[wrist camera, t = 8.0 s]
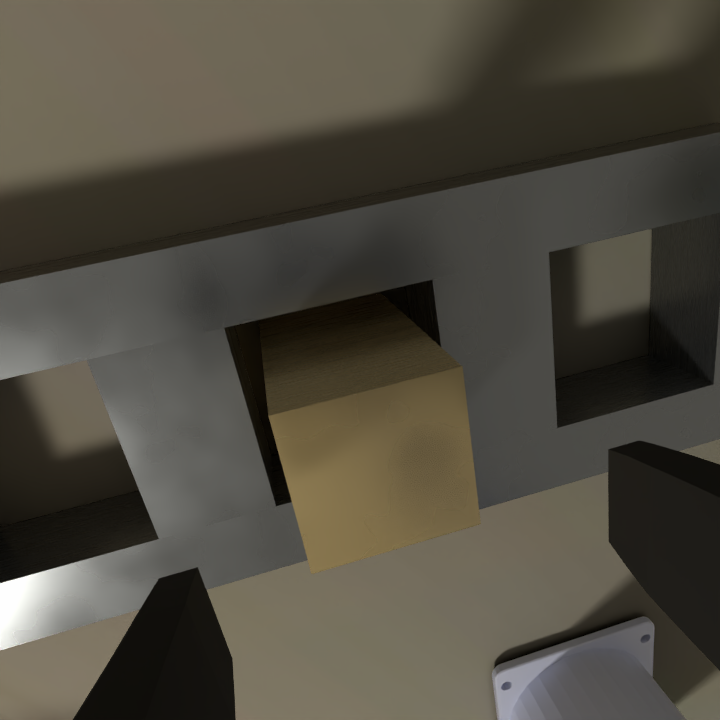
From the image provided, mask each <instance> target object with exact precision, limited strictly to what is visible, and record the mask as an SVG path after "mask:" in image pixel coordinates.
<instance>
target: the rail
mask: <svg viewBox="0 0 720 720" xmlns="http://www.w3.org/2000/svg"><path fill="white" fill-rule="evenodd" d="M647 229H652V257H651V297H650V338H649V355H647V356H643V357H639V358H636V359H632V360H628V361H624V362H621V363H617V364H613V365H609V366H606V367H602V368H598V369H594V370H591V371H587V372H583V373H579V374H576V375H572V376H568V377H564V378H560V379H557V380H555V370H554V349H553V328H552V307H551V286H550V264H549V252H553V251H557V250H561V249H566V248H570V247H574V246H578V245H583V244H587V243H591V242H596V241H600V240H604V239H609V238H613V237H617V236H621V235H626V234H630V233H634V232H639V231H643V230H647ZM402 286H405V288H406V295H407V301H408V308H409V314H410V320H411V321H412V322H414V323H415V324H416V325H417V326H418V327H419V328H420V329H421V330H422V331H424V332H425V333H426V334H427V335H428V336H429V337H430V338H431V339H432V340H434V341H435V342H436V343H437V344H438V345H439V346H440V347H441V348H442V349H444V350H445V351H446V352H447V353H448V354H449V355H450V356H451V357H452V358H454V359H455V360H456V361H457V362H458V363H459V364H460V365H461V366H463V374H464V383H465V392H466V400H467V409H468V418H469V427H470V435H471V444H472V453H473V462H474V470H475V479H476V488H477V496H478V505H479V509H483V508H486V507H489V506H493V505H496V504H500V503H503V502H506V501H510V500H513V499H517V498H520V497H523V496H527V495H530V494H534V493H537V492H540V491H544V490H547V489H551V488H554V487H558V486H561V485H564V484H568V483H571V482H575V481H578V480H581V479H585V478H588V477H592V476H595V475H598V474H602V473H605V472H608V449H611V448H614V447H618V446H621V445H625V444H628V443H632V442H635V441H639V440H640V441H644V442H648V443H652V444H656V445H659V446H663V447H666V448H669V449H673V450H676V451H680V450H683V449H687V448H690V447H694V446H697V445H700V444H704V443H707V442H711V441H714V440H717V439H720V123H713V124H709V125H704V126H699V127H694V128H689V129H684V130H680V131H675V132H670V133H665V134H660V135H656V136H651V137H646V138H641V139H636V140H632V141H627V142H622V143H617V144H612V145H607V146H603V147H598V148H593V149H588V150H583V151H579V152H574V153H569V154H564V155H559V156H555V157H550V158H545V159H540V160H535V161H531V162H526V163H521V164H516V165H511V166H506V167H502V168H497V169H492V170H487V171H482V172H478V173H473V174H468V175H463V176H458V177H454V178H449V179H444V180H439V181H434V182H429V183H425V184H420V185H415V186H410V187H405V188H401V189H396V190H391V191H386V192H381V193H377V194H372V195H367V196H362V197H357V198H353V199H348V200H343V201H338V202H333V203H328V204H324V205H319V206H314V207H309V208H304V209H300V210H295V211H290V212H285V213H280V214H276V215H271V216H266V217H261V218H256V219H252V220H247V221H242V222H237V223H232V224H227V225H223V226H218V227H213V228H208V229H203V230H199V231H194V232H189V233H184V234H179V235H175V236H170V237H165V238H160V239H155V240H150V241H146V242H141V243H136V244H131V245H126V246H122V247H117V248H112V249H107V250H102V251H98V252H93V253H88V254H83V255H78V256H74V257H69V258H64V259H59V260H54V261H49V262H45V263H40V264H35V265H30V266H25V267H21V268H16V269H11V270H6V271H1V272H0V380H2V379H6V378H11V377H15V376H19V375H24V374H28V373H32V372H36V371H41V370H45V369H49V368H54V367H58V366H62V365H67V364H71V363H75V362H79V361H84V360H87V362H88V365H89V367H90V369H91V372H92V374H93V377H94V379H95V382H96V384H97V387H98V389H99V392H100V394H101V397H102V399H103V402H104V404H105V407H106V409H107V412H108V414H109V417H110V419H111V421H112V424H113V426H114V429H115V431H116V434H117V436H118V439H119V441H120V444H121V446H122V449H123V451H124V454H125V456H126V459H127V461H128V464H129V466H130V469H131V471H132V474H133V476H134V478H135V481H136V483H137V486H138V488H139V491H136V492H132V493H128V494H124V495H121V496H117V497H113V498H109V499H106V500H102V501H98V502H94V503H91V504H87V505H83V506H79V507H75V508H72V509H68V510H64V511H60V512H57V513H53V514H49V515H45V516H42V517H38V518H34V519H30V520H27V521H23V522H19V523H15V524H12V525H8V526H4V527H0V650H3V649H6V648H10V647H13V646H16V645H20V644H23V643H27V642H30V641H33V640H37V639H40V638H44V637H47V636H50V635H54V634H57V633H61V632H64V631H67V630H71V629H74V628H78V627H81V626H84V625H88V624H91V623H95V622H98V621H102V620H105V619H108V618H112V617H115V616H119V615H122V614H125V613H129V612H132V611H136V610H139V609H141V607H142V605H143V603H144V602H145V600H146V598H147V597H148V595H149V593H150V592H151V590H152V589H153V587H154V585H155V584H156V582H157V581H158V579H159V578H162V577H165V576H169V575H172V574H176V573H179V572H183V571H186V570H190V569H193V568H196V567H198V569H199V572H200V575H201V577H202V580H203V582H204V585H205V588H206V590H207V589H210V588H214V587H217V586H221V585H224V584H227V583H231V582H234V581H238V580H241V579H244V578H248V577H251V576H255V575H258V574H261V573H265V572H268V571H272V570H275V569H278V568H282V567H285V566H289V565H292V564H295V563H299V562H302V561H306V560H308V559H307V555H306V551H305V548H304V544H303V540H302V537H301V533H300V530H299V526H298V522H297V519H296V515H295V511H294V508H293V504H292V500H291V497H290V493H289V489H288V486H287V482H286V478H285V475H284V471H283V467H282V464H281V460H280V456H279V454H275V455H271V453H270V450H269V446H268V442H267V439H266V435H265V432H264V428H263V425H262V421H261V418H260V414H259V411H258V407H257V404H256V400H255V397H254V393H253V390H252V386H251V383H250V379H249V375H248V372H247V368H246V365H245V361H244V358H243V354H242V351H241V347H240V344H239V340H238V337H237V333H236V330H235V326H234V325H239V324H243V323H247V322H252V321H256V320H260V319H264V318H269V317H273V316H277V315H282V314H286V313H290V312H295V311H299V310H303V309H307V308H312V307H316V306H320V305H325V304H329V303H333V302H338V301H342V300H346V299H350V298H355V297H359V296H363V295H368V294H372V293H376V292H381V291H385V290H389V289H393V288H398V287H402Z"/></svg>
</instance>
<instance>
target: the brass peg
mask: <svg viewBox="0 0 720 720" xmlns="http://www.w3.org/2000/svg"><path fill="white" fill-rule="evenodd" d="M258 321H259V331H260V340H261V350H262V359H263V369H264V378H265V388H266V397H267V407H268V416H269V420H270V423H271V427H272V431H273V434H274V438H275V442H276V445H277V449H278V453H279V456H280V460H281V464H282V467H283V471H284V475H285V478H286V482H287V486H288V489H289V493H290V497H291V500H292V504H293V508H294V511H295V515H296V519H297V522H298V526H299V530H300V533H301V537H302V540H303V544H304V548H305V551H306V555H307V559H308V562H309V566H310V570H311V573H312V574H314V573H317V572H320V571H324V570H327V569H331V568H334V567H337V566H341V565H344V564H348V563H351V562H354V561H358V560H361V559H364V558H368V557H371V556H375V555H378V554H381V553H385V552H388V551H391V550H395V549H398V548H402V547H405V546H408V545H412V544H415V543H418V542H422V541H425V540H429V539H432V538H435V537H439V536H442V535H445V534H449V533H452V532H456V531H459V530H462V529H466V528H469V527H473V526H476V525H479V524H481V523H480V514H479V505H478V496H477V488H476V479H475V470H474V462H473V453H472V444H471V435H470V427H469V418H468V409H467V400H466V392H465V383H464V374H463V366H461V365H460V364H459V363H458V362H457V361H456V360H455V359H454V358H452V357H451V356H450V355H449V354H448V353H447V352H446V351H445V350H444V349H442V348H441V347H440V346H439V345H438V344H437V343H436V342H435V341H434V340H432V339H431V338H430V337H429V336H428V335H427V334H426V333H425V332H424V331H422V330H421V329H420V328H419V327H418V326H417V325H416V324H415V323H414V322H412V321H411V320H410V319H409V318H408V317H407V316H406V315H405V314H403V313H402V312H401V311H400V310H399V309H398V308H397V307H396V306H395V305H393V304H392V303H391V302H390V301H389V300H388V299H387V298H386V297H385V296H383V295H382V294H381V293H376V294H372V295H367V296H363V297H359V298H354V299H350V300H346V301H341V302H337V303H333V304H328V305H324V306H319V307H315V308H311V309H306V310H302V311H298V312H293V313H289V314H285V315H280V316H276V317H272V318H267V319H263V320H258Z"/></svg>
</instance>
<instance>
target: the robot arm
mask: <svg viewBox="0 0 720 720" xmlns="http://www.w3.org/2000/svg"><path fill="white" fill-rule="evenodd" d="M608 492H609V542H610V544H611V545H612V547H613V548H614V549H615V551H616V552H617V554H618V555H619V556H620V558H621V559H622V560H623V562H624V563H625V565H626V566H627V567H628V569H629V570H630V571H631V573H632V574H633V575H634V577H635V578H636V579H637V581H638V582H639V583H640V584H641V586H642V587H643V588H644V590H645V591H646V592H647V593H648V595H649V596H650V597H651V598H652V599H653V600H654V601H655V602H656V603H657V604H658V605H659V607H660V608H661V609H662V610H663V611H664V612H665V613H666V614H667V615H668V616H669V617H670V618H671V619H672V620H673V622H674V623H675V624H676V625H677V626H678V627H679V628H680V629H681V630H682V631H683V632H684V633H685V634H686V635H687V636H688V638H689V639H690V640H691V641H692V642H693V643H694V644H695V645H696V646H697V647H698V648H699V649H700V650H701V651H702V652H703V653H704V654H705V655H706V656H707V657H708V659H709V660H710V661H711V662H712V663H713V664H714V665H715V666H716V667H717V668H718V669H719V670H720V465H719V464H716V463H713V462H710V461H707V460H704V459H701V458H698V457H695V456H692V455H689V454H685V453H682V452H679V451H676V450H673V449H669V448H666V447H663V446H659V445H656V444H652V443H648V442H644V441H640V440H639V441H635V442H632V443H628V444H625V445H621V446H618V447H614V448H611V449H608ZM653 655H654V624H653V623H652V621H651V620H650V619H649V618H648V617H639V618H636V619H633V620H630V621H627V622H624V623H621V624H618V625H615V626H612V627H609V628H606V629H603V630H600V631H597V632H594V633H591V634H588V635H585V636H582V637H579V638H576V639H573V640H570V641H567V642H564V643H561V644H558V645H555V646H552V647H549V648H546V649H543V650H540V651H537V652H534V653H531V654H528V655H525V656H522V657H519V658H516V659H513V660H510V661H507V662H504V663H501V664H499V665H497V666H496V667H495V668H494V670H493V672H492V679H493V687H494V695H495V703H496V711H497V719H498V720H686V719H685V717H684V716H683V715H682V714H681V712H680V711H679V710H678V709H677V707H676V706H675V705H674V704H673V702H672V701H671V700H670V699H669V698H668V696H667V695H666V694H665V693H664V691H663V690H662V689H661V688H660V686H659V685H658V684H657V683H656V681H655V680H654V679H653ZM73 720H235V697H234V680H233V662H232V657H231V654H230V651H229V649H228V646H227V643H226V641H225V638H224V635H223V633H222V630H221V627H220V625H219V622H218V620H217V617H216V614H215V612H214V609H213V606H212V604H211V601H210V598H209V596H208V593H207V590H206V588H205V585H204V582H203V580H202V577H201V575H200V572H199V569H198V567H196V568H193V569H190V570H186V571H183V572H179V573H176V574H172V575H169V576H165V577H162V578H159V579H158V581H157V582H156V584H155V585H154V587H153V589H152V590H151V592H150V593H149V595H148V597H147V598H146V600H145V602H144V603H143V605H142V607H141V609H140V610H139V612H138V614H137V615H136V617H135V619H134V620H133V622H132V624H131V626H130V627H129V629H128V631H127V632H126V634H125V636H124V637H123V639H122V641H121V642H120V644H119V646H118V647H117V649H116V651H115V652H114V654H113V656H112V657H111V659H110V661H109V662H108V664H107V666H106V667H105V669H104V671H103V672H102V674H101V675H100V677H99V679H98V680H97V682H96V683H95V685H94V687H93V688H92V690H91V691H90V693H89V695H88V696H87V698H86V699H85V701H84V703H83V704H82V706H81V708H80V709H79V711H78V712H77V714H76V715H75V717H74V719H73Z"/></svg>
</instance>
